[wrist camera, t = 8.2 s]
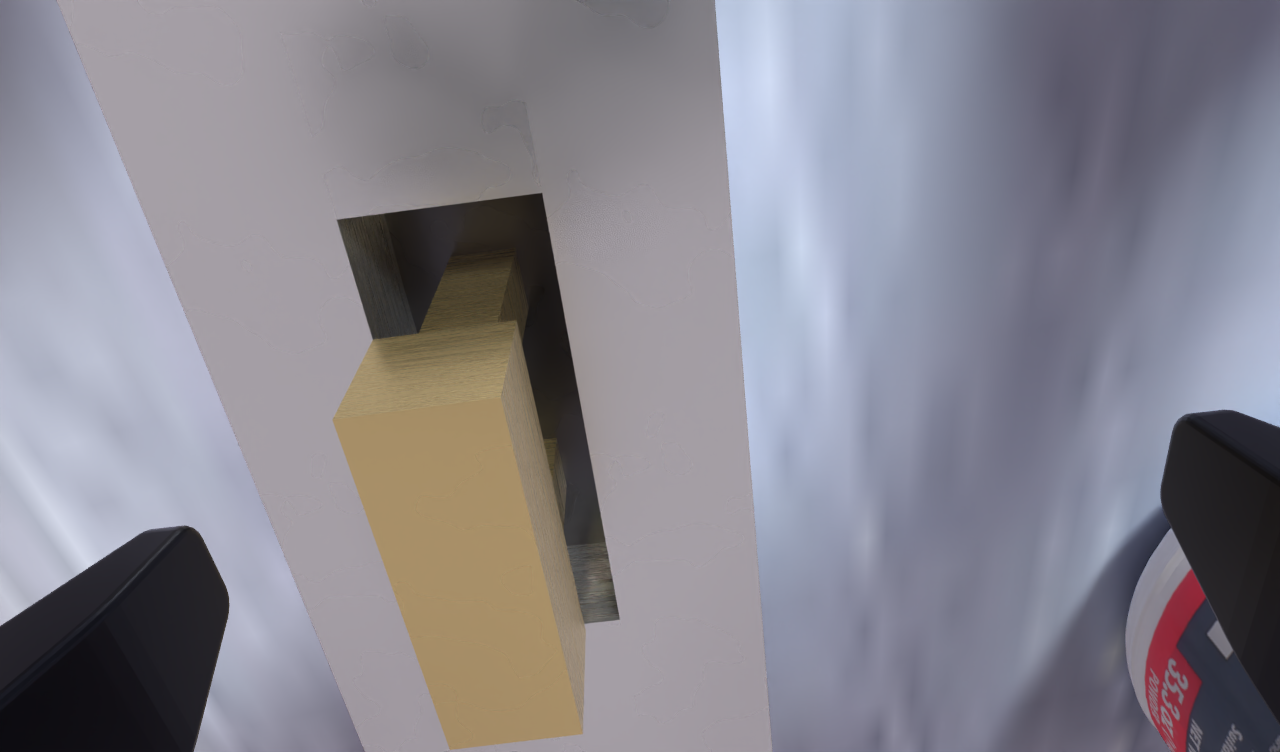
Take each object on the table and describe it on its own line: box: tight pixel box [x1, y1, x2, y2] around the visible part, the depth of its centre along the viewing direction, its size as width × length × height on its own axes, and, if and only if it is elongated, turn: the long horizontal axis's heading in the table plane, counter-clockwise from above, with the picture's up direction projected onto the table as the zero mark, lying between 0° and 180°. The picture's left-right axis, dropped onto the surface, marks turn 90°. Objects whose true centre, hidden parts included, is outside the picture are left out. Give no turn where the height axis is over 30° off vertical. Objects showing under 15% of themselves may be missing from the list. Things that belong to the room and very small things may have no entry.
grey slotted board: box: [57, 0, 772, 752], centre depth 19 cm, size 10×24×3 cm, turn 7°
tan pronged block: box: [332, 248, 586, 750], centre depth 17 cm, size 2×7×7 cm, turn 8°
